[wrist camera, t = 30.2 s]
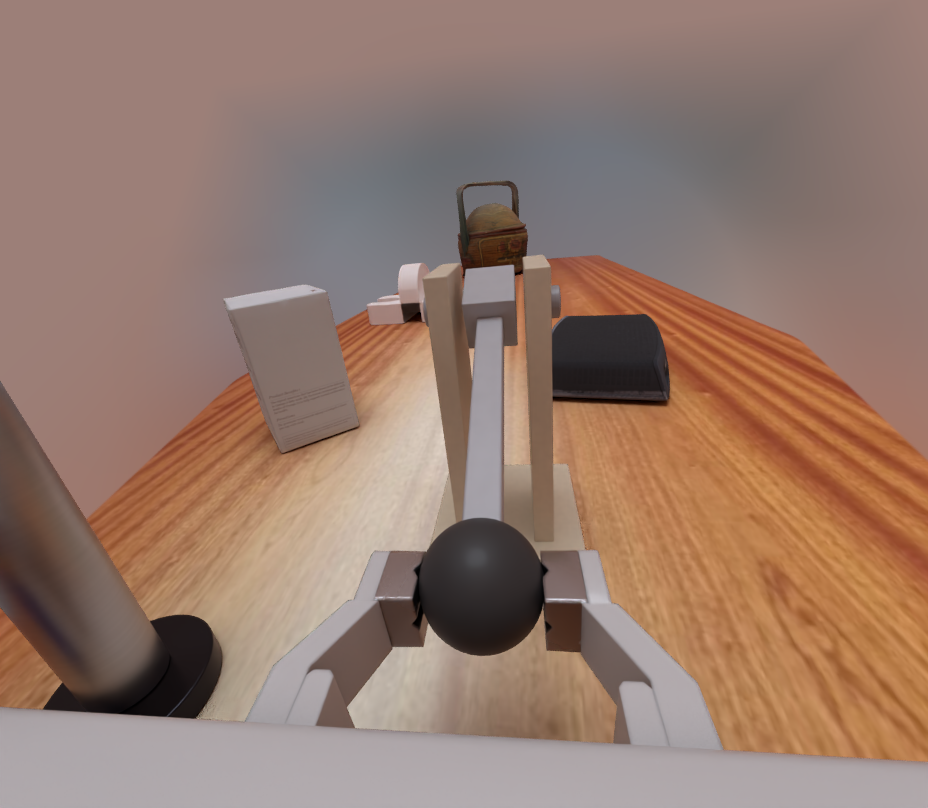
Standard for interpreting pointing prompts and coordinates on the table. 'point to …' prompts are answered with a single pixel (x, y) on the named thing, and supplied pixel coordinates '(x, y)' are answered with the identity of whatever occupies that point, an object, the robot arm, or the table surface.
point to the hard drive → (609, 358)
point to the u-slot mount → (401, 298)
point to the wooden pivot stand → (542, 483)
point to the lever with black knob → (484, 500)
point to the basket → (491, 233)
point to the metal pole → (87, 599)
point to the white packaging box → (294, 363)
